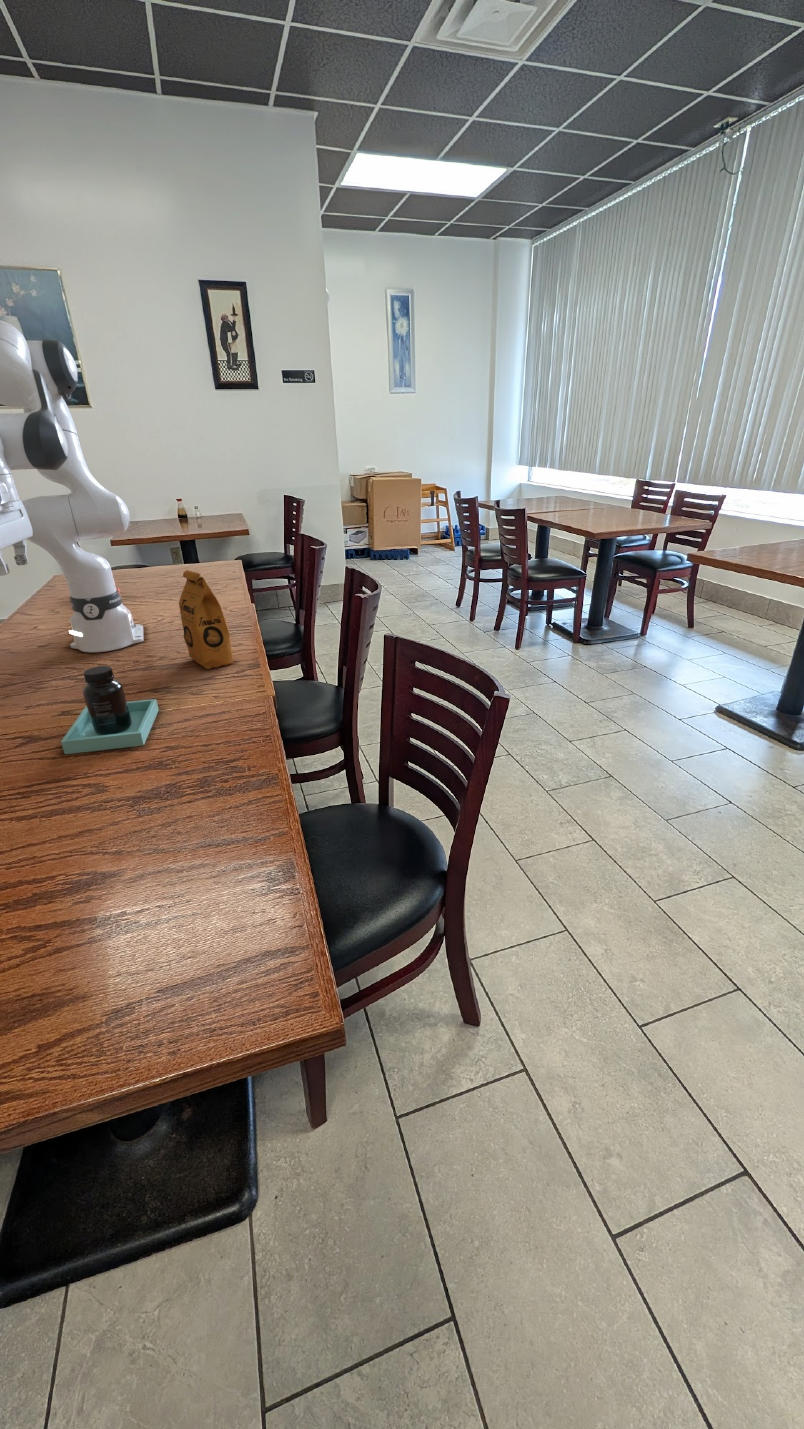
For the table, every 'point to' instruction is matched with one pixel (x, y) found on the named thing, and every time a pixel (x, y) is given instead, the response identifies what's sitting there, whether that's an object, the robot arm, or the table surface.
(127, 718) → the supplement bottle
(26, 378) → the robot arm
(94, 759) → the table surface
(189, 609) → the coffee package
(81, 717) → the serving tray
